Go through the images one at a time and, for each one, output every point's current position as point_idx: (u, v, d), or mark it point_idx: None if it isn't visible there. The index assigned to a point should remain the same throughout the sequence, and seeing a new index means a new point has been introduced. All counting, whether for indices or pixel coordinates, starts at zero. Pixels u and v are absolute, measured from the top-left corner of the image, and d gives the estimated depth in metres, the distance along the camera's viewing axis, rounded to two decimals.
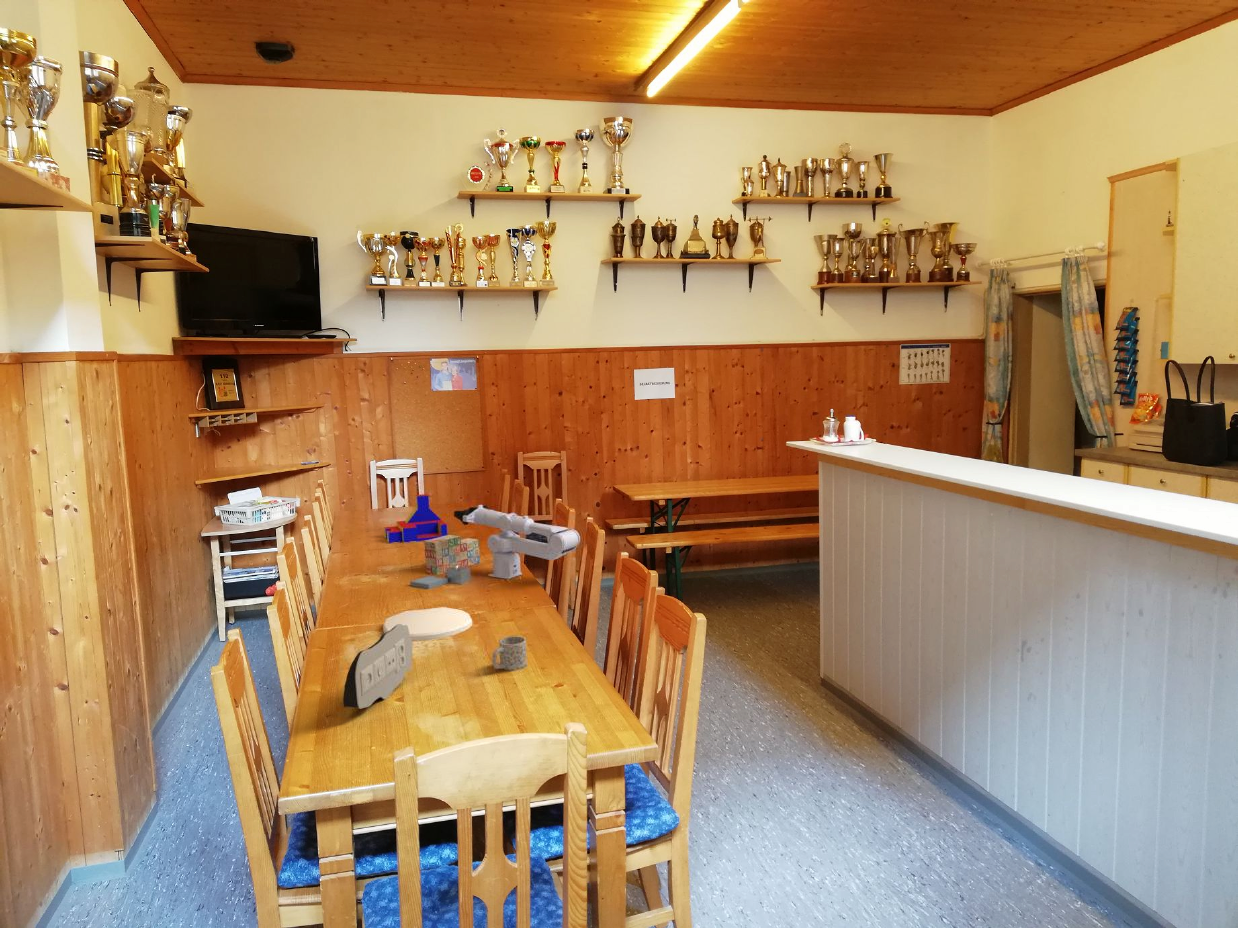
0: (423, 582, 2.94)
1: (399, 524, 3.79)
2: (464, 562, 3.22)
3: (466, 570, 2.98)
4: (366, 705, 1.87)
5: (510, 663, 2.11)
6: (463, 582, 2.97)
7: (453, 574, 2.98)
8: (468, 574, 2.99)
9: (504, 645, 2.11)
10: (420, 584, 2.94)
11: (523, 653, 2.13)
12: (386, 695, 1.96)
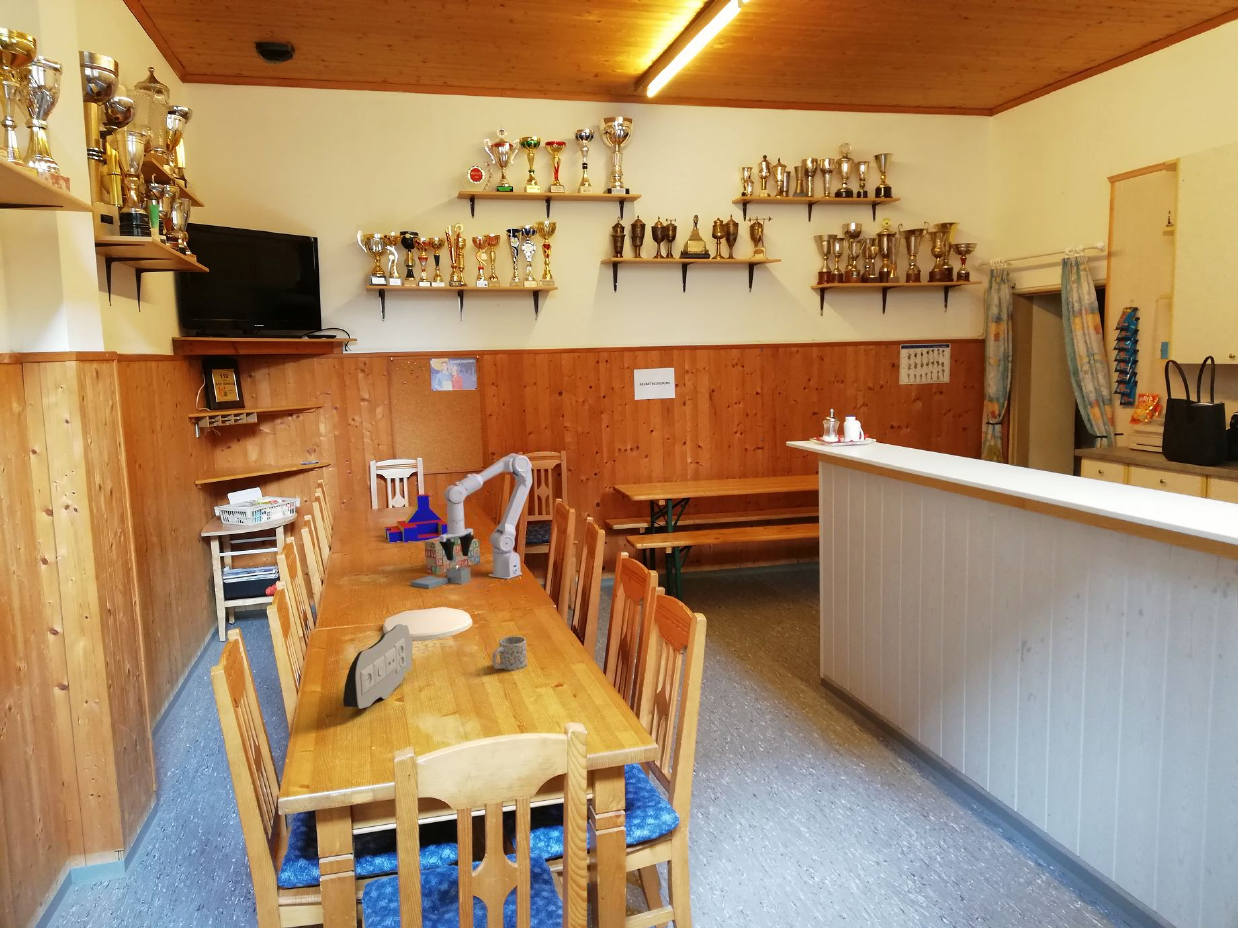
0: (423, 582, 2.94)
1: (399, 524, 3.79)
2: (464, 562, 3.22)
3: (466, 570, 2.98)
4: (366, 705, 1.87)
5: (510, 663, 2.11)
6: (463, 582, 2.97)
7: (453, 574, 2.98)
8: (468, 574, 2.99)
9: (504, 645, 2.11)
10: (420, 584, 2.94)
11: (523, 653, 2.13)
12: (386, 695, 1.96)
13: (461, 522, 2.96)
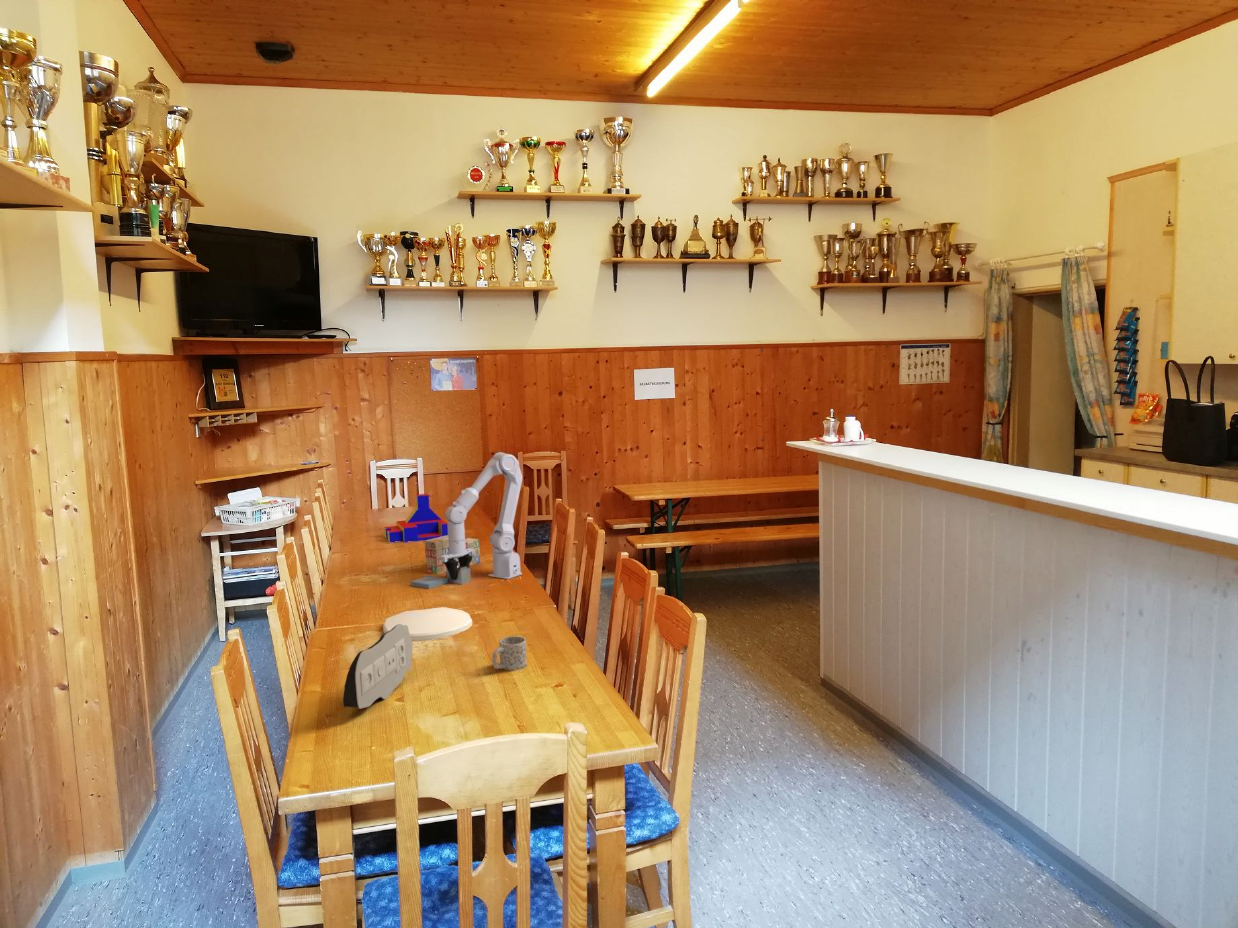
0: (423, 582, 2.94)
1: (399, 524, 3.80)
2: None
3: (466, 570, 2.98)
4: (366, 705, 1.87)
5: (510, 663, 2.11)
6: (463, 582, 2.97)
7: None
8: (468, 574, 2.99)
9: (504, 645, 2.11)
10: (420, 584, 2.94)
11: (523, 653, 2.13)
12: (386, 695, 1.96)
13: (462, 542, 2.97)
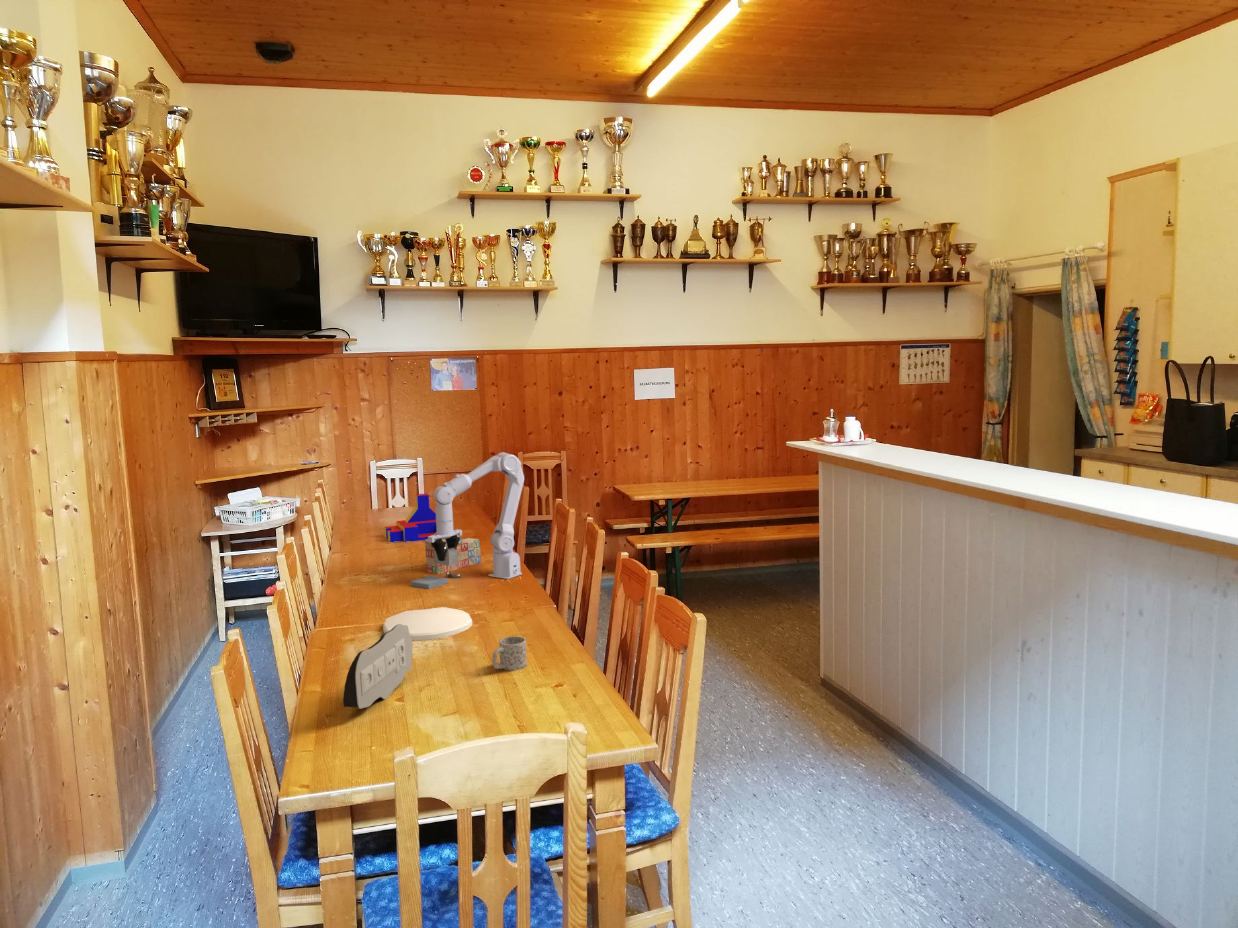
0: (423, 582, 2.94)
1: (400, 523, 3.80)
2: (465, 562, 3.22)
3: (454, 551, 2.96)
4: (366, 705, 1.87)
5: (510, 663, 2.11)
6: (450, 563, 2.95)
7: None
8: (456, 555, 2.97)
9: (504, 645, 2.11)
10: (420, 584, 2.94)
11: (523, 653, 2.13)
12: (386, 695, 1.96)
13: (450, 523, 2.95)
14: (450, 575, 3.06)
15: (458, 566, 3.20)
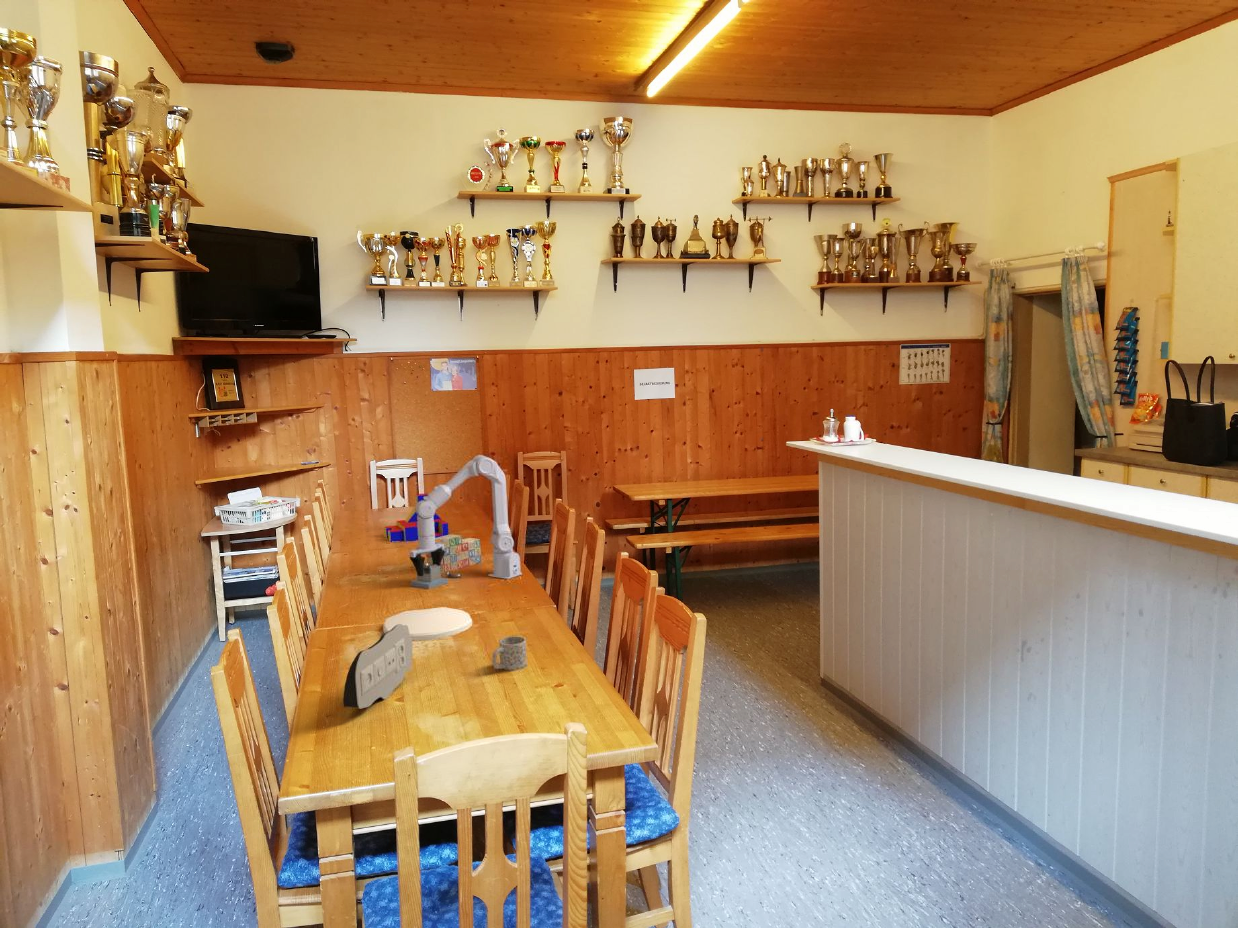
0: (423, 582, 2.94)
1: (400, 523, 3.81)
2: (465, 561, 3.23)
3: (436, 568, 2.95)
4: (366, 705, 1.87)
5: (510, 663, 2.11)
6: (433, 580, 2.94)
7: None
8: (438, 572, 2.97)
9: (504, 645, 2.11)
10: (420, 584, 2.94)
11: (523, 653, 2.13)
12: (386, 695, 1.96)
13: (431, 537, 2.94)
14: (450, 575, 3.06)
15: (458, 566, 3.20)
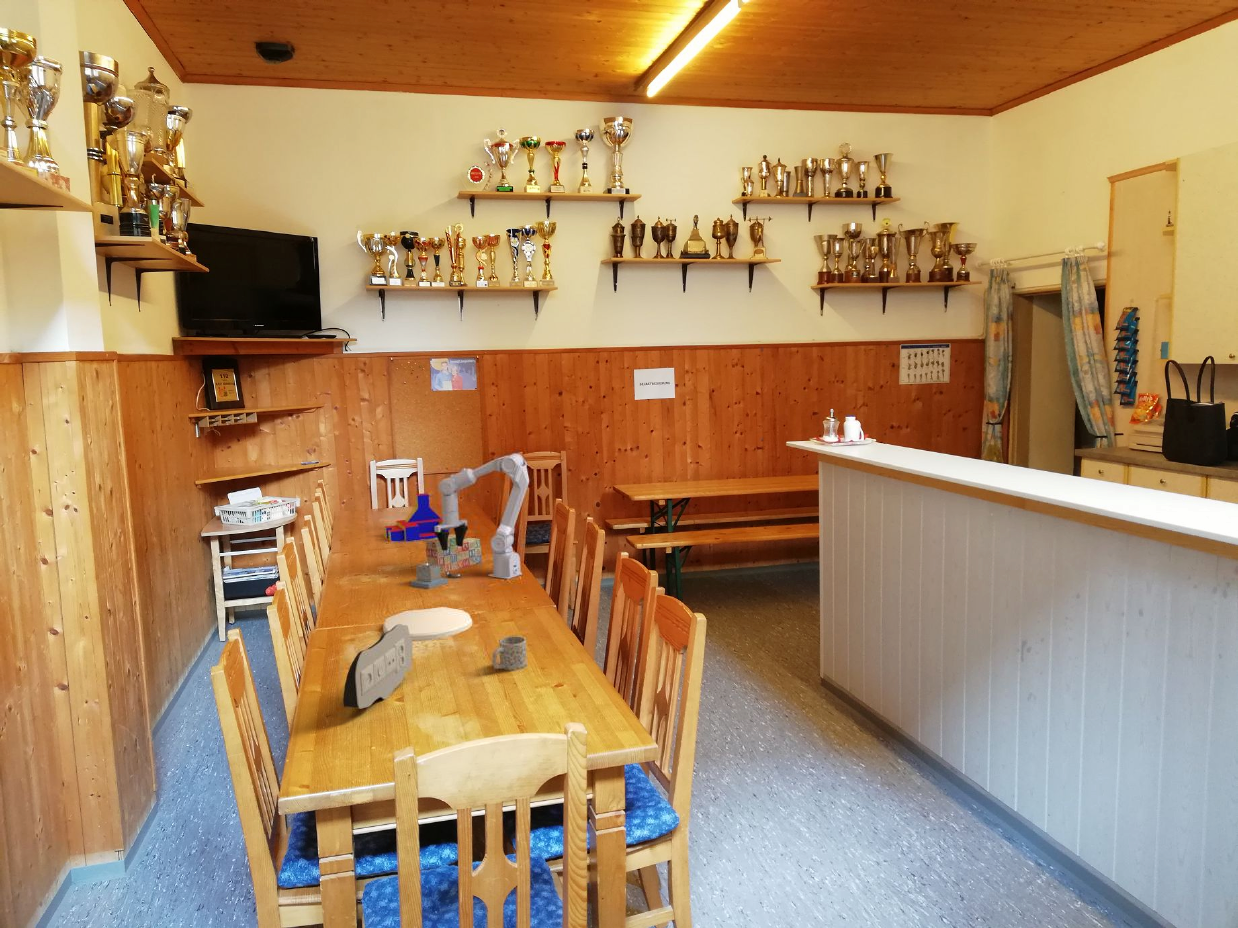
0: (423, 582, 2.94)
1: (400, 523, 3.81)
2: (466, 561, 3.23)
3: (436, 568, 2.95)
4: (366, 705, 1.87)
5: (510, 663, 2.11)
6: (433, 580, 2.94)
7: (423, 571, 2.95)
8: (438, 572, 2.97)
9: (504, 645, 2.11)
10: (420, 584, 2.94)
11: (523, 653, 2.13)
12: (386, 695, 1.96)
13: (455, 513, 3.06)
14: (450, 575, 3.06)
15: (459, 566, 3.20)
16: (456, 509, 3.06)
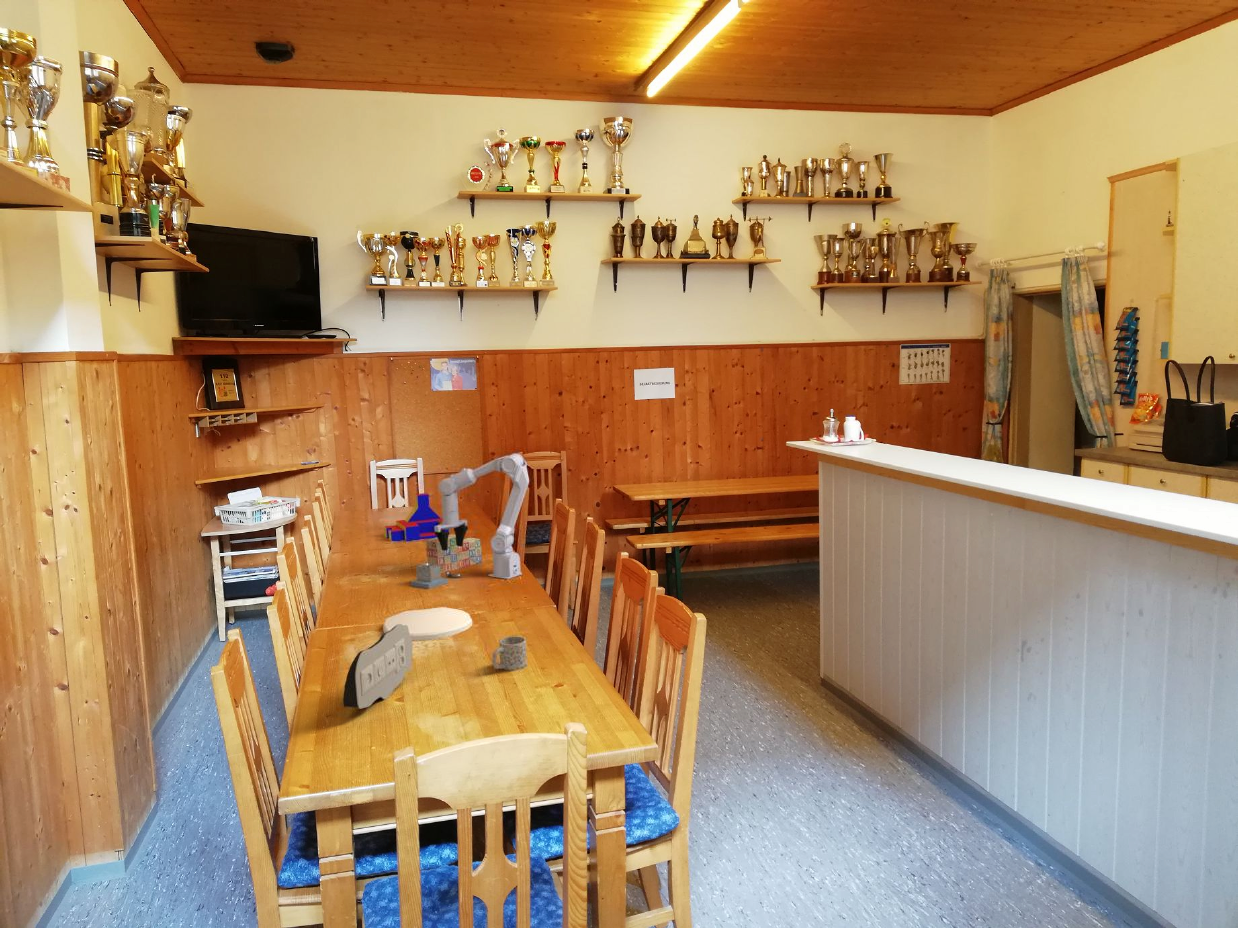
0: (423, 582, 2.94)
1: (400, 523, 3.81)
2: (466, 561, 3.23)
3: (436, 568, 2.95)
4: (366, 705, 1.87)
5: (510, 663, 2.11)
6: (433, 580, 2.94)
7: (423, 571, 2.95)
8: (438, 572, 2.97)
9: (504, 645, 2.11)
10: (420, 584, 2.94)
11: (523, 653, 2.13)
12: (386, 695, 1.96)
13: (455, 513, 3.06)
14: (450, 575, 3.06)
15: (459, 566, 3.20)
16: (456, 509, 3.06)
